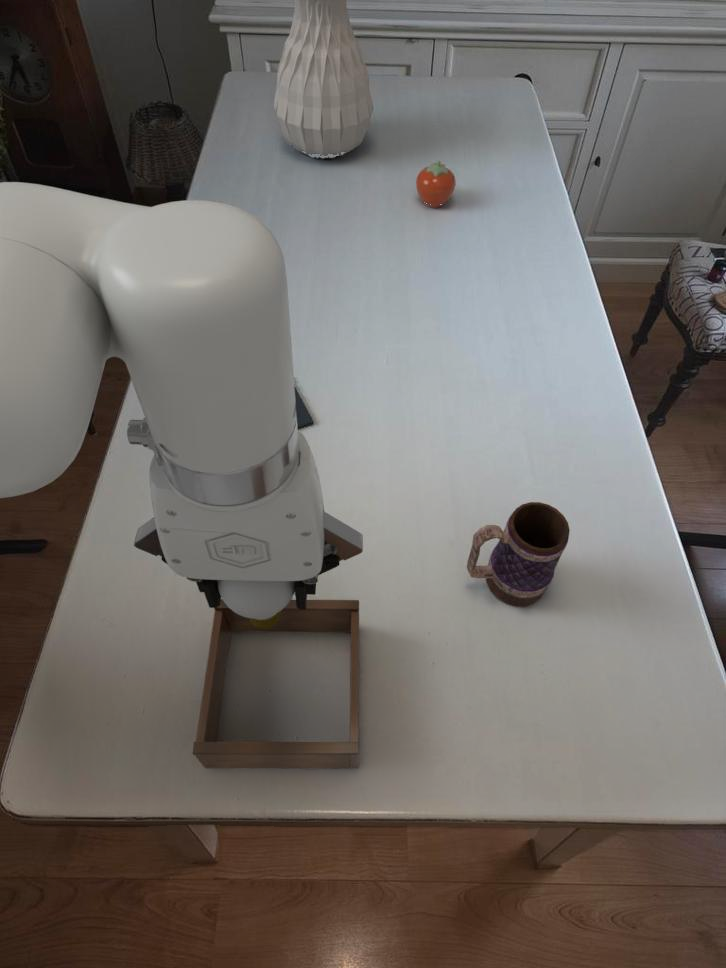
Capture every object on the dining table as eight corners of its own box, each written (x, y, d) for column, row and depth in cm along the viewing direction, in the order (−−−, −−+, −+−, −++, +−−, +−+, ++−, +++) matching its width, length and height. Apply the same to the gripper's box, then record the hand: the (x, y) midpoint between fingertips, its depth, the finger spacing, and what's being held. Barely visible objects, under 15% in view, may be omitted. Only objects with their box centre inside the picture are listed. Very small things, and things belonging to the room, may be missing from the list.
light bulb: (232, 657, 50) (213, 602, 42) (227, 592, 54) (209, 529, 46) (305, 644, 51) (300, 588, 43) (296, 581, 55) (289, 518, 47)
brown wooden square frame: (204, 769, 60) (192, 753, 55) (224, 623, 69) (215, 598, 64) (357, 769, 60) (359, 753, 55) (358, 624, 69) (359, 599, 64)
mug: (536, 550, 75) (564, 492, 65) (553, 605, 71) (586, 551, 61) (452, 558, 74) (468, 500, 64) (464, 613, 70) (483, 560, 60)
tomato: (456, 211, 119) (463, 169, 112) (418, 214, 118) (422, 171, 111) (447, 191, 123) (453, 149, 117) (410, 193, 122) (414, 151, 116)
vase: (295, 178, 125) (283, -6, 100) (264, 133, 135) (246, -43, 111) (387, 161, 130) (396, -19, 105) (350, 119, 140) (351, -53, 116)
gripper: (48, 492, 32) (137, 635, 46) (388, 501, 32) (371, 639, 47) (87, 386, 36) (158, 547, 51) (385, 395, 37) (371, 552, 51)
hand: (260, 590), depth 49 cm, fingers closed on light bulb, 6 cm apart
